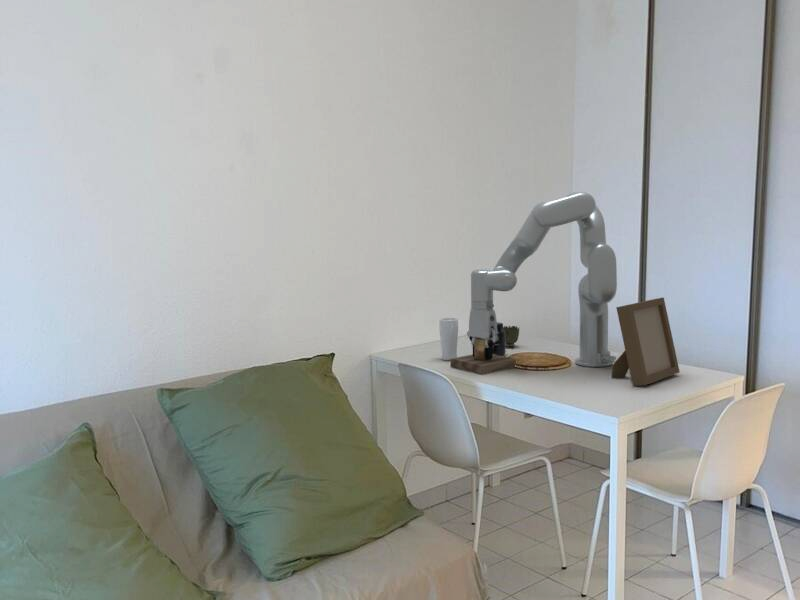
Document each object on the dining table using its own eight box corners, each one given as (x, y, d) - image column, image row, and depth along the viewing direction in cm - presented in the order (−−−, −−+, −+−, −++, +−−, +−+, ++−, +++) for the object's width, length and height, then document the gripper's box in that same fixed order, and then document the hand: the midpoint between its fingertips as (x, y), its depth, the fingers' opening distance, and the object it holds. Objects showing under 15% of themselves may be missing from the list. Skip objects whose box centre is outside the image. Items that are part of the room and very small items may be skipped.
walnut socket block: (515, 367, 262) (515, 358, 262) (481, 374, 253) (481, 365, 253) (484, 360, 275) (484, 352, 275) (450, 367, 266) (450, 358, 265)
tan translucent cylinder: (494, 366, 263) (494, 338, 262) (482, 369, 260) (481, 340, 259) (483, 364, 268) (482, 336, 267) (471, 366, 265) (470, 338, 263)
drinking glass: (437, 358, 280) (436, 318, 278) (453, 356, 283) (452, 316, 281) (445, 362, 274) (444, 321, 272) (461, 360, 277) (461, 319, 275)
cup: (497, 346, 301) (497, 326, 299) (514, 344, 303) (514, 324, 302) (505, 349, 293) (505, 329, 292) (522, 348, 296) (522, 327, 295)
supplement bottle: (492, 357, 280) (492, 325, 278) (484, 354, 286) (483, 322, 285) (509, 355, 282) (508, 323, 281) (500, 352, 289) (499, 321, 287)
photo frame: (679, 375, 245) (680, 298, 242) (645, 388, 230) (645, 306, 227) (637, 369, 255) (637, 295, 252) (602, 381, 241) (602, 303, 238)
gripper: (507, 306, 257) (507, 359, 259) (473, 302, 270) (473, 352, 273) (491, 309, 252) (491, 362, 255) (457, 304, 266) (458, 355, 268)
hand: (482, 356), depth 264 cm, fingers closed on tan translucent cylinder, 5 cm apart
